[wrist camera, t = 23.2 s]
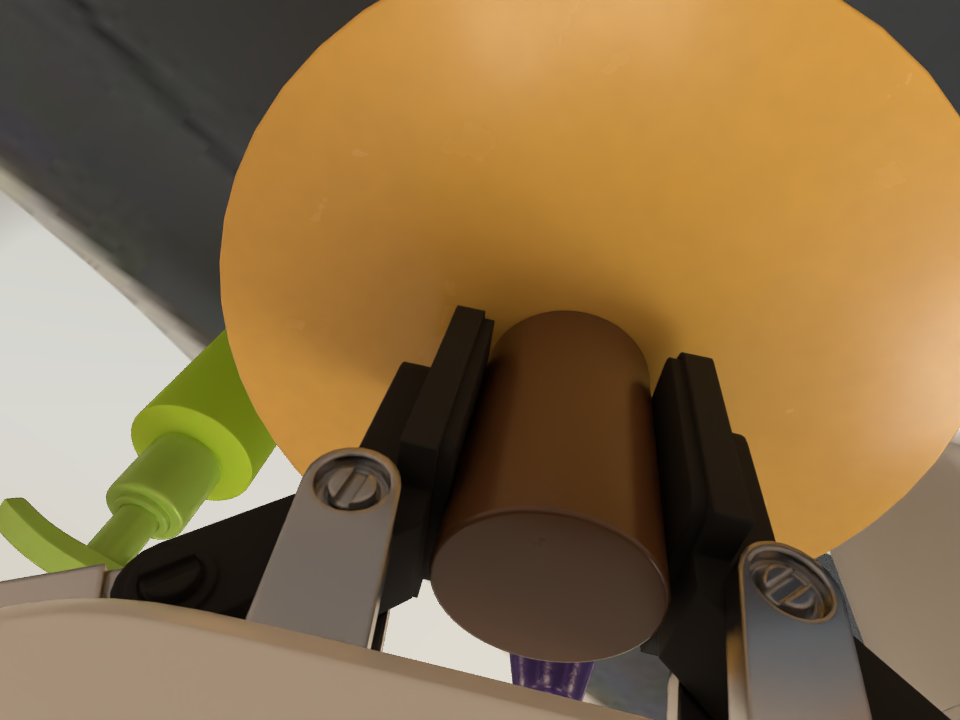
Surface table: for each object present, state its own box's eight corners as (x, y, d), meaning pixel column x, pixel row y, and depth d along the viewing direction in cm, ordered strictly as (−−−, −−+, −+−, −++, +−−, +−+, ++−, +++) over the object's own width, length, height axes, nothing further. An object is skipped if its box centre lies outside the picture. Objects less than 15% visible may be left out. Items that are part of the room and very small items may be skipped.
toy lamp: (520, 467, 43) (479, 708, 29) (559, 427, 40) (533, 670, 27) (576, 500, 44) (562, 749, 30) (617, 462, 41) (622, 716, 27)
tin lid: (1172, -55, 8) (2114, -70, 3) (817, 607, 16) (912, 904, 11) (169, -71, 10) (-276, -98, 5) (299, 527, 18) (180, 750, 13)
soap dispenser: (280, 245, 36) (10, 484, 20) (368, 322, 38) (188, 597, 22) (232, 302, 39) (-37, 551, 23) (316, 371, 41) (124, 646, 25)
